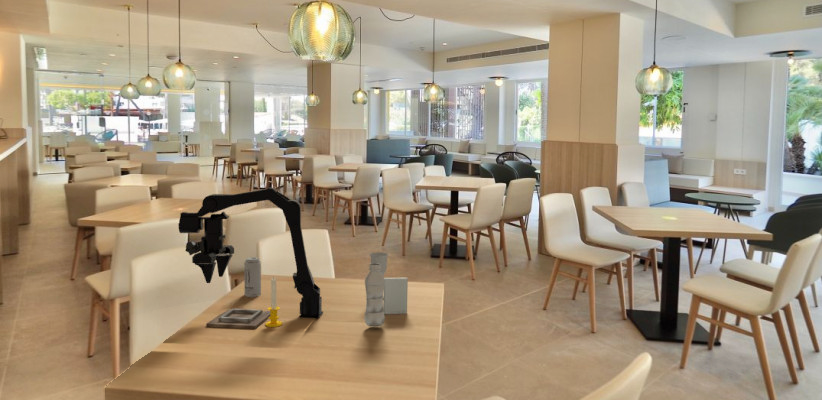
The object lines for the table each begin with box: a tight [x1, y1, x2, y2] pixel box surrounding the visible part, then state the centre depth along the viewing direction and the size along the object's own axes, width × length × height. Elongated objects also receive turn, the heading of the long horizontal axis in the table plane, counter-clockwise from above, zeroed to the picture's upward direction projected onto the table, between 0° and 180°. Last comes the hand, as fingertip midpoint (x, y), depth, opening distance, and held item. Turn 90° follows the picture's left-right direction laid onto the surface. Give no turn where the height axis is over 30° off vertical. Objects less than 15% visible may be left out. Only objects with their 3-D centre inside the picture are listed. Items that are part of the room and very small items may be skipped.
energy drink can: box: [243, 256, 262, 298], centre depth 205 cm, size 6×6×15 cm
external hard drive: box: [383, 277, 409, 315], centre depth 188 cm, size 2×8×12 cm, turn 98°
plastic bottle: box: [364, 262, 386, 328], centre depth 173 cm, size 6×7×20 cm
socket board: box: [205, 308, 270, 330], centre depth 177 cm, size 16×16×2 cm
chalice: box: [369, 252, 389, 301], centre depth 202 cm, size 7×7×18 cm
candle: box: [264, 276, 283, 328], centre depth 173 cm, size 5×5×16 cm
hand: (214, 279), depth 179 cm, fingers open, 9 cm apart
